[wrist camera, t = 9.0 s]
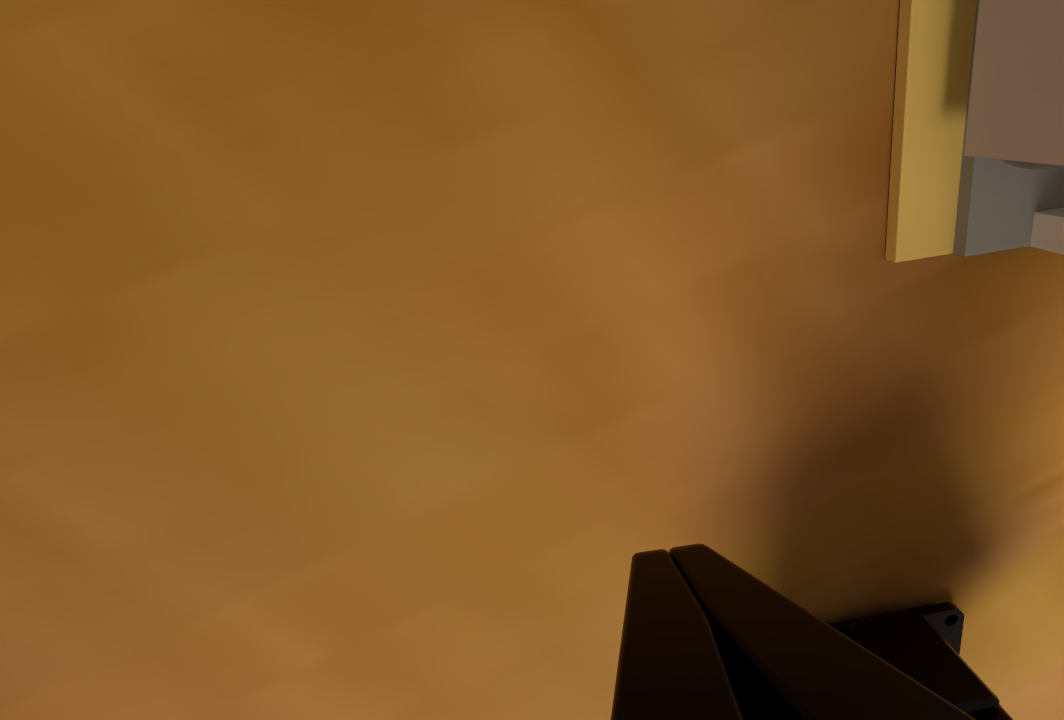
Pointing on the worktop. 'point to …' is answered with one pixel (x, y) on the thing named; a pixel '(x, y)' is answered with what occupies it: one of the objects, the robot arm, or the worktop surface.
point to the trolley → (1018, 84)
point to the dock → (955, 152)
